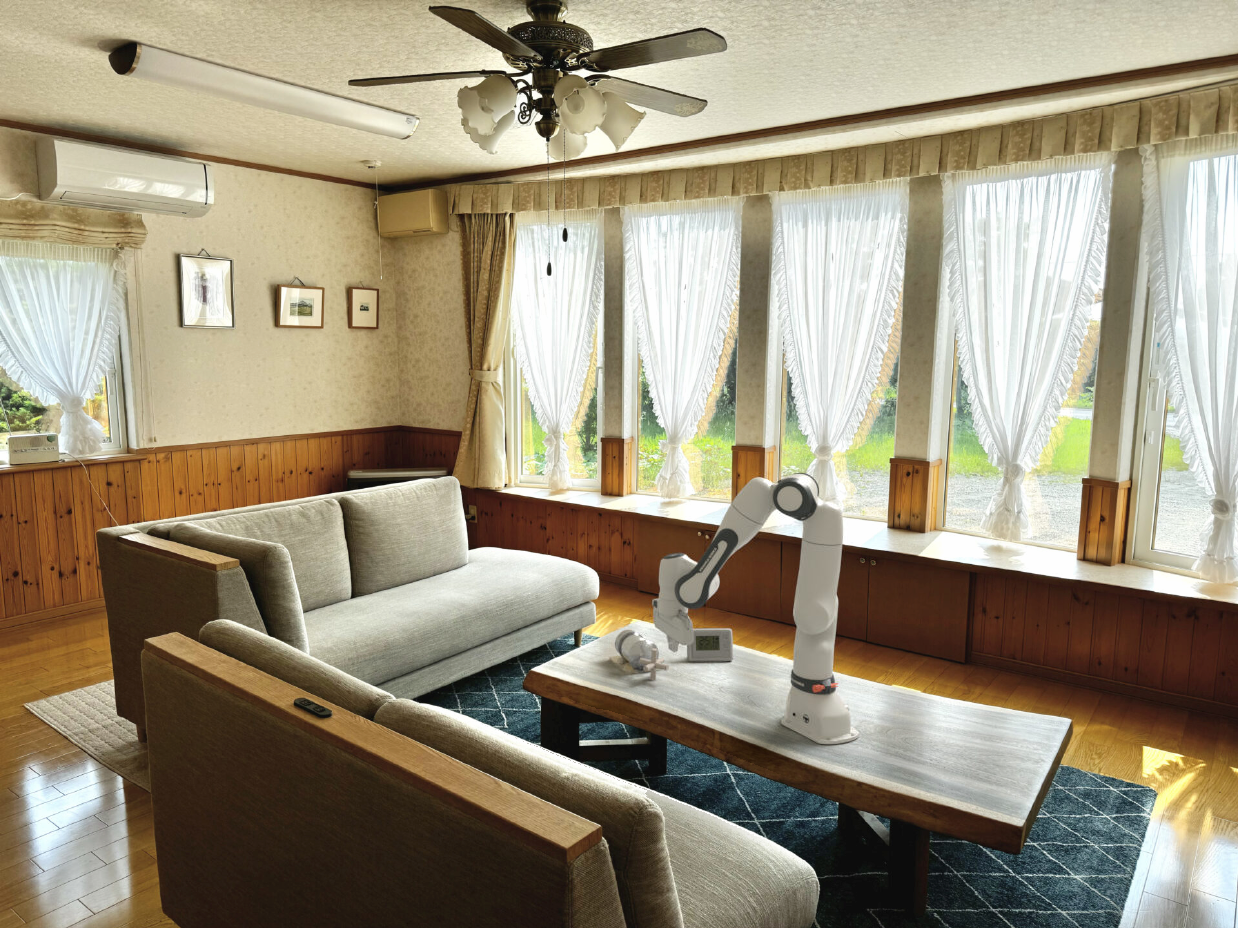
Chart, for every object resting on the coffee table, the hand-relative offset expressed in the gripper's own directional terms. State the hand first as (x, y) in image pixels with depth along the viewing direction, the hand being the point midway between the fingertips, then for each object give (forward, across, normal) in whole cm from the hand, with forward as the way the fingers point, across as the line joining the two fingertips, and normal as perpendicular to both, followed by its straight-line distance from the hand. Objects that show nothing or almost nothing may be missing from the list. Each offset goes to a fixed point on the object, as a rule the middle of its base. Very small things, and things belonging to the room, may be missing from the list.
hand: (673, 650), depth 255 cm
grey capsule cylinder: (+14, +27, +1) cm, 30 cm away
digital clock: (+15, +23, -26) cm, 37 cm away
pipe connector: (+14, +14, 0) cm, 20 cm away
